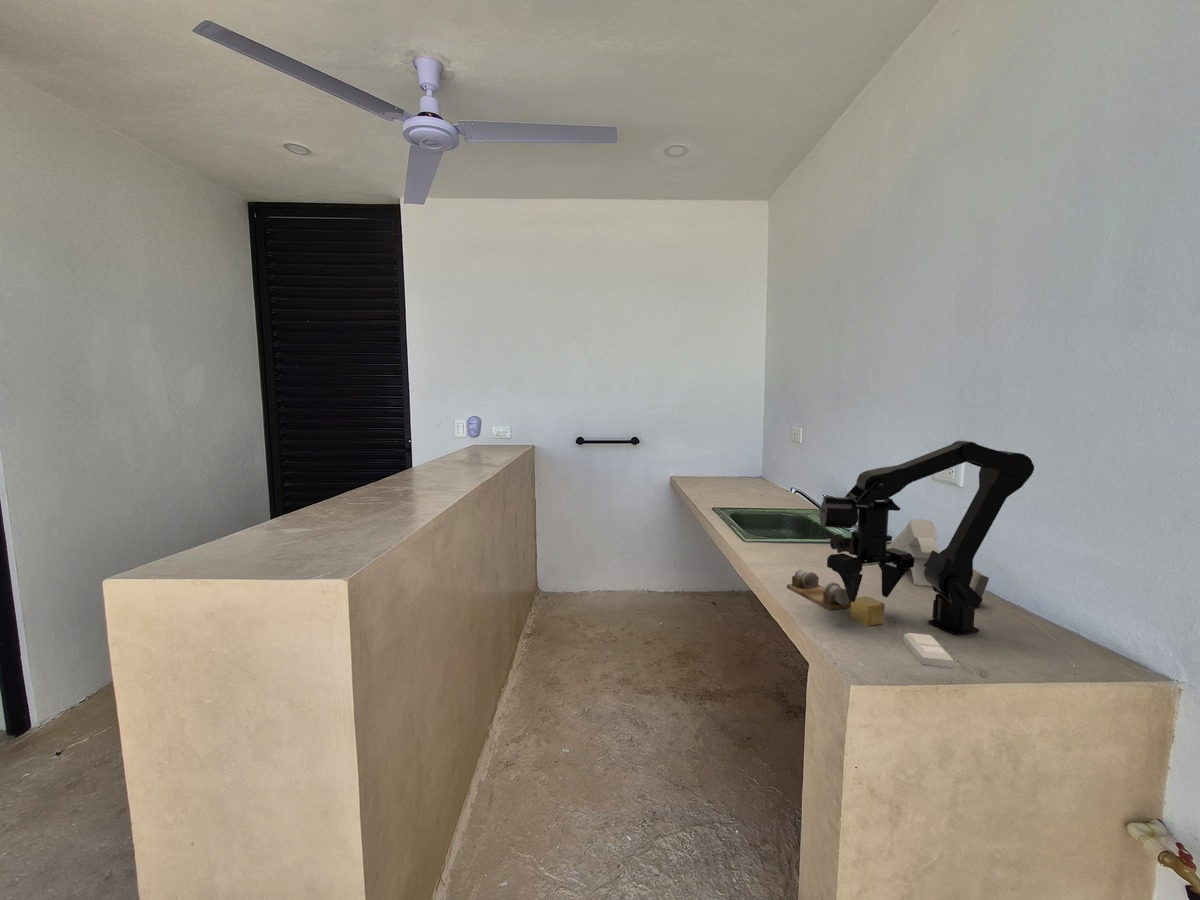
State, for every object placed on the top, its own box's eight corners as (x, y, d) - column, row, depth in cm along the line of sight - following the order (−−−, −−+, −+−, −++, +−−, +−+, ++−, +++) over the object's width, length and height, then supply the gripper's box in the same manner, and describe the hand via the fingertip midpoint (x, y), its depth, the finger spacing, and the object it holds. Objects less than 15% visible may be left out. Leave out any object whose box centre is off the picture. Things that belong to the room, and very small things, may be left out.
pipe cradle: (857, 606, 114) (858, 586, 113) (829, 610, 111) (830, 589, 111) (812, 584, 128) (812, 566, 128) (786, 587, 126) (787, 569, 125)
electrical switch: (936, 594, 122) (942, 558, 121) (956, 596, 122) (962, 560, 121) (964, 609, 113) (971, 571, 112) (986, 612, 113) (993, 573, 112)
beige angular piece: (908, 547, 146) (934, 518, 130) (920, 601, 137) (950, 576, 121) (885, 546, 147) (908, 516, 131) (896, 599, 138) (922, 574, 122)
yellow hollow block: (885, 624, 105) (886, 604, 104) (868, 627, 103) (869, 606, 103) (865, 614, 110) (866, 595, 109) (849, 617, 108) (850, 597, 108)
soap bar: (930, 646, 96) (931, 633, 95) (952, 670, 87) (953, 655, 87) (903, 643, 97) (903, 630, 97) (922, 666, 88) (923, 652, 88)
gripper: (874, 518, 115) (871, 582, 116) (810, 523, 110) (807, 590, 111) (918, 529, 104) (913, 599, 106) (849, 535, 99) (845, 609, 100)
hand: (868, 598), depth 106 cm, fingers open, 9 cm apart
